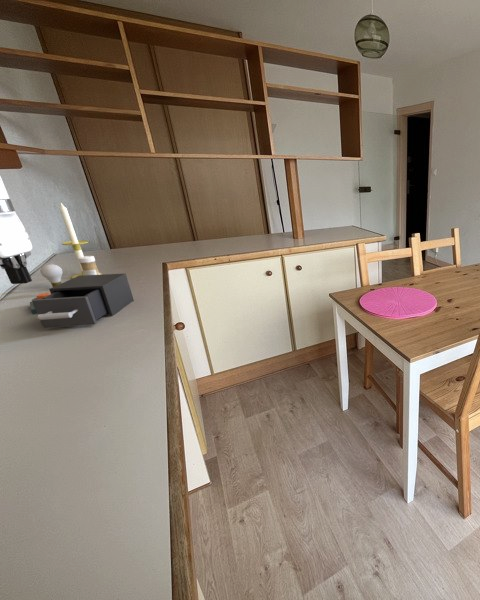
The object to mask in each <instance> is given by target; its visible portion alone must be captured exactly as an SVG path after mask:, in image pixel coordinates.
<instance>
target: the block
mask: <svg viewBox="0 0 480 600" xmlns="http://www.w3.org/2000/svg"><path fill="white" fill-rule="evenodd" d="M35 299H38V298H37V297H34V298H32V299H31V301H29V307H30V311H31V313H32V315H38V314H37V311H36V309H35V307H34V304H33V302H32V301H33V300H35Z"/></svg>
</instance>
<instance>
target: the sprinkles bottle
mask: <svg viewBox="0 0 480 600" xmlns="http://www.w3.org/2000/svg"><path fill="white" fill-rule="evenodd" d="M78 260H79V262H80V264H81V266H82V269H83V272H84V275H100V274H99V273H100V271H99V269H98V266H97V264H96V259H95V256H94V255H84V257H79V258H78ZM78 260H77V261H78Z"/></svg>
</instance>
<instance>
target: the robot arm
mask: <svg viewBox="0 0 480 600" xmlns="http://www.w3.org/2000/svg"><path fill="white" fill-rule="evenodd" d="M31 251H33V244H32V241H31V238H30V235H29V234H28V231H27V230H26V228H25V226H24V224H23V222H22V221H21V220H20V218H19V216H18V214H17V212H16V210H15V207H14V205H13V203H12V201H11V199H10V195H9V193H8V191H7V189H6V186H5V183H4V180H3V179H2V175H0V268H1V269H2V270H4V271H5V274H6V276H7V278H8V280H9V283H10V284H11V285H21V284H28V283H32V281H33V279H32V277H31V274H30V272H29V270H28V268H27V267H28V262H27V258H29V257H30V256H31V255H32V252H31Z"/></svg>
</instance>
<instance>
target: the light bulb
mask: <svg viewBox="0 0 480 600" xmlns="http://www.w3.org/2000/svg"><path fill="white" fill-rule="evenodd" d="M63 273H64V272H63V269H62V267H60V266H59V265H56V264H53V263H51V264H50V263H49V264H45V265H43V266H41V268H40V275H41V277H43V278H45V279H46V280H48V281H49V283H50V284H51V286H52V287H55V286H57V285H59V284H61V283H62V282H61V281H62V275H63Z"/></svg>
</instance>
